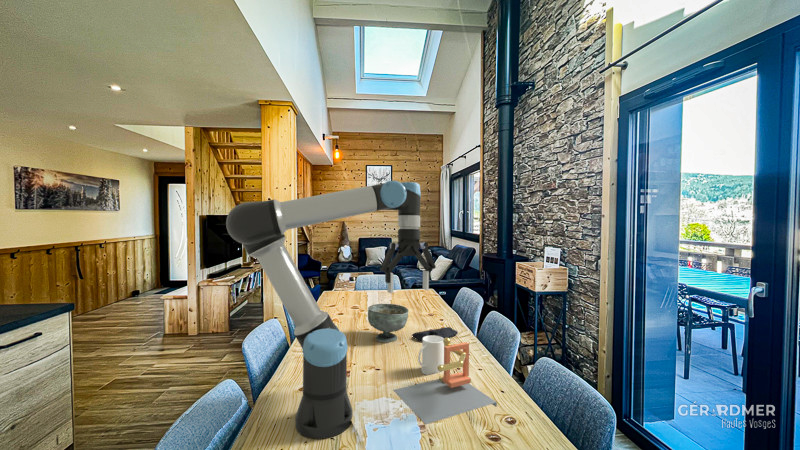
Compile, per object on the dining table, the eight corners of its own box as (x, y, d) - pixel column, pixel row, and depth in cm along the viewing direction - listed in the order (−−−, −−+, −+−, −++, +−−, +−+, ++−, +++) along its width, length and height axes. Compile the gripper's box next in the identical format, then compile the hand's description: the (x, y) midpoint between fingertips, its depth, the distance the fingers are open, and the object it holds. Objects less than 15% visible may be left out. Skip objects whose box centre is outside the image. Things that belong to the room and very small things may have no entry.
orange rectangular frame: (472, 382, 105) (472, 345, 105) (449, 388, 101) (449, 349, 101) (462, 376, 109) (463, 340, 109) (440, 381, 105) (440, 344, 105)
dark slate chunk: (462, 338, 158) (462, 328, 158) (427, 346, 146) (427, 336, 146) (442, 329, 171) (442, 320, 171) (408, 336, 158) (408, 327, 158)
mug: (425, 381, 112) (425, 346, 112) (409, 372, 119) (410, 339, 119) (449, 372, 119) (449, 339, 119) (433, 364, 125) (434, 333, 126)
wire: (439, 412, 91) (439, 360, 91) (410, 386, 106) (411, 341, 106) (480, 400, 97) (480, 352, 98) (447, 377, 112) (448, 335, 112)
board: (425, 428, 85) (425, 424, 85) (393, 393, 103) (393, 390, 103) (496, 406, 96) (496, 402, 96) (456, 378, 114) (456, 374, 114)
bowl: (408, 346, 144) (408, 313, 144) (365, 346, 144) (365, 312, 144) (407, 332, 164) (408, 302, 164) (369, 331, 164) (370, 302, 164)
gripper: (434, 228, 118) (433, 286, 118) (370, 227, 107) (369, 291, 107) (445, 228, 111) (445, 290, 111) (379, 228, 100) (378, 296, 100)
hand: (408, 291), depth 109 cm, fingers open, 13 cm apart
